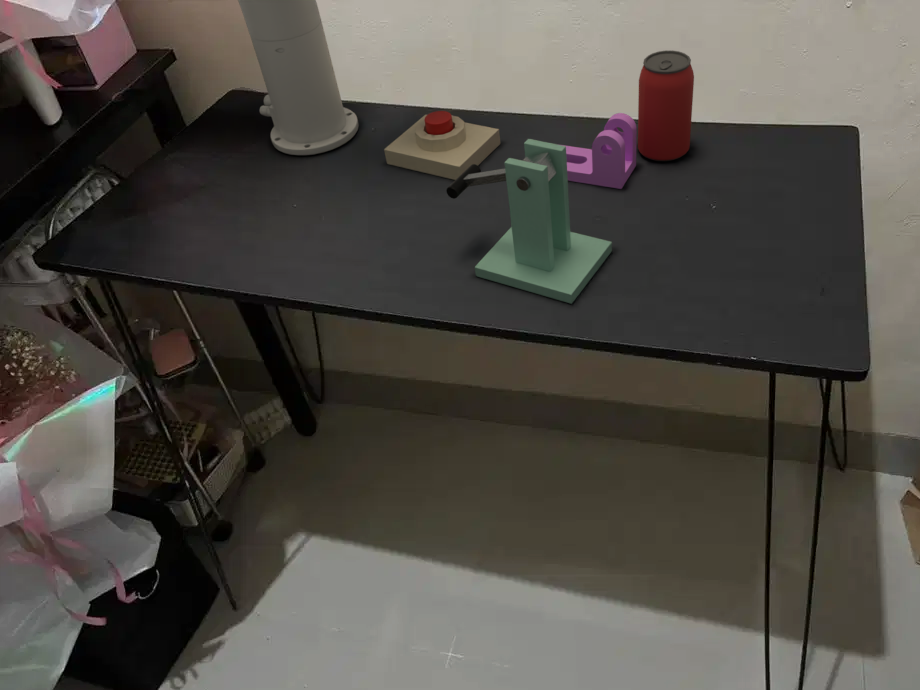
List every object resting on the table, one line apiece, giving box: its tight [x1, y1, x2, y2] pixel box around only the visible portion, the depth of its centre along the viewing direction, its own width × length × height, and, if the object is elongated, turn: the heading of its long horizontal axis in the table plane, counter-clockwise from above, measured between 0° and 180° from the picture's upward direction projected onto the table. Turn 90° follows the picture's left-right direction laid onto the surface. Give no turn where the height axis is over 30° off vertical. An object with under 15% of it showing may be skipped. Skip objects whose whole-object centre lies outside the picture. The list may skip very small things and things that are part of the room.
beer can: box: [637, 50, 695, 162], centre depth 104 cm, size 7×7×12 cm
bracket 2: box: [561, 112, 638, 190], centre depth 104 cm, size 13×6×7 cm, turn 65°
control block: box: [383, 114, 501, 181], centre depth 111 cm, size 12×10×4 cm
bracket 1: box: [474, 138, 613, 305], centre depth 89 cm, size 12×10×14 cm
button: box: [424, 110, 453, 135], centre depth 110 cm, size 4×4×2 cm
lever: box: [446, 153, 556, 200], centre depth 88 cm, size 12×5×2 cm, turn 59°
